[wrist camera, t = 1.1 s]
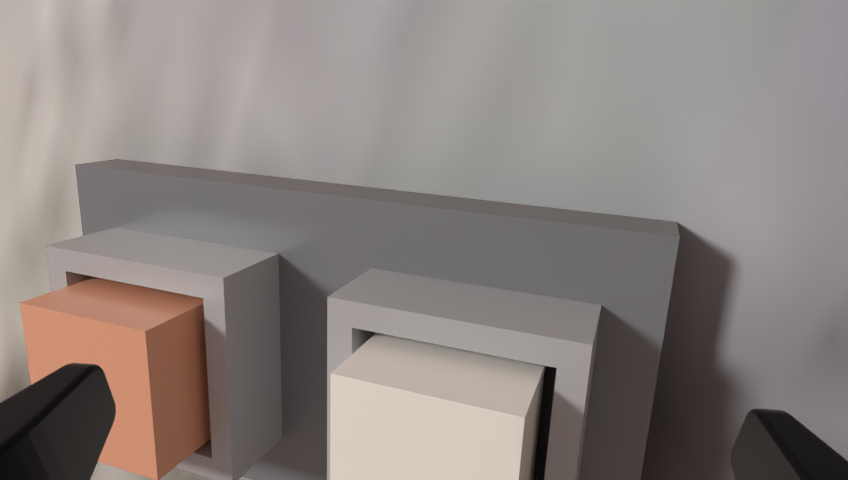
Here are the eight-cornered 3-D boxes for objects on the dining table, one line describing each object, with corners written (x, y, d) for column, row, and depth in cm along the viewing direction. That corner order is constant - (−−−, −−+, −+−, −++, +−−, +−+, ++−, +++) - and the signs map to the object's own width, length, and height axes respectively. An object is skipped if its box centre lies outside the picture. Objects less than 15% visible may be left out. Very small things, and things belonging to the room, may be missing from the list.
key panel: (624, 549, 21) (617, 674, 17) (139, 412, 28) (41, 474, 24) (676, 222, 18) (686, 266, 14) (116, 159, 25) (-1, 174, 21)
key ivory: (529, 516, 18) (507, 594, 15) (375, 473, 19) (329, 536, 17) (545, 362, 16) (524, 417, 14) (378, 329, 18) (330, 373, 15)
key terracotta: (221, 430, 21) (157, 480, 18) (112, 399, 23) (39, 442, 20) (214, 298, 20) (144, 331, 17) (99, 275, 22) (20, 302, 19)
